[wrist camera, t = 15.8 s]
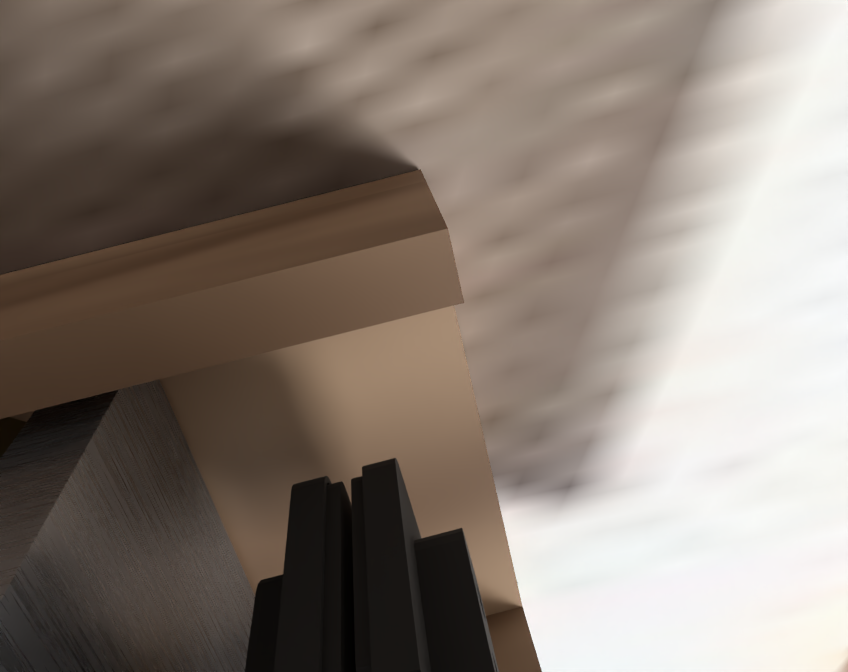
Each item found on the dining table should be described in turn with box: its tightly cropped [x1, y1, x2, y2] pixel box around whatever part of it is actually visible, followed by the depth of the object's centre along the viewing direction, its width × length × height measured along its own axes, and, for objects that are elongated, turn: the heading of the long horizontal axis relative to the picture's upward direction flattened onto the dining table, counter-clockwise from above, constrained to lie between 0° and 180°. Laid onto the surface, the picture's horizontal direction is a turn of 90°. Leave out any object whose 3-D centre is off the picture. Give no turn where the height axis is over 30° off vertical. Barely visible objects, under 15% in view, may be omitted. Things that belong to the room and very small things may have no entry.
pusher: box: [0, 379, 255, 672], centre depth 10 cm, size 7×1×6 cm, turn 13°
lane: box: [0, 169, 542, 672], centre depth 12 cm, size 10×14×3 cm
